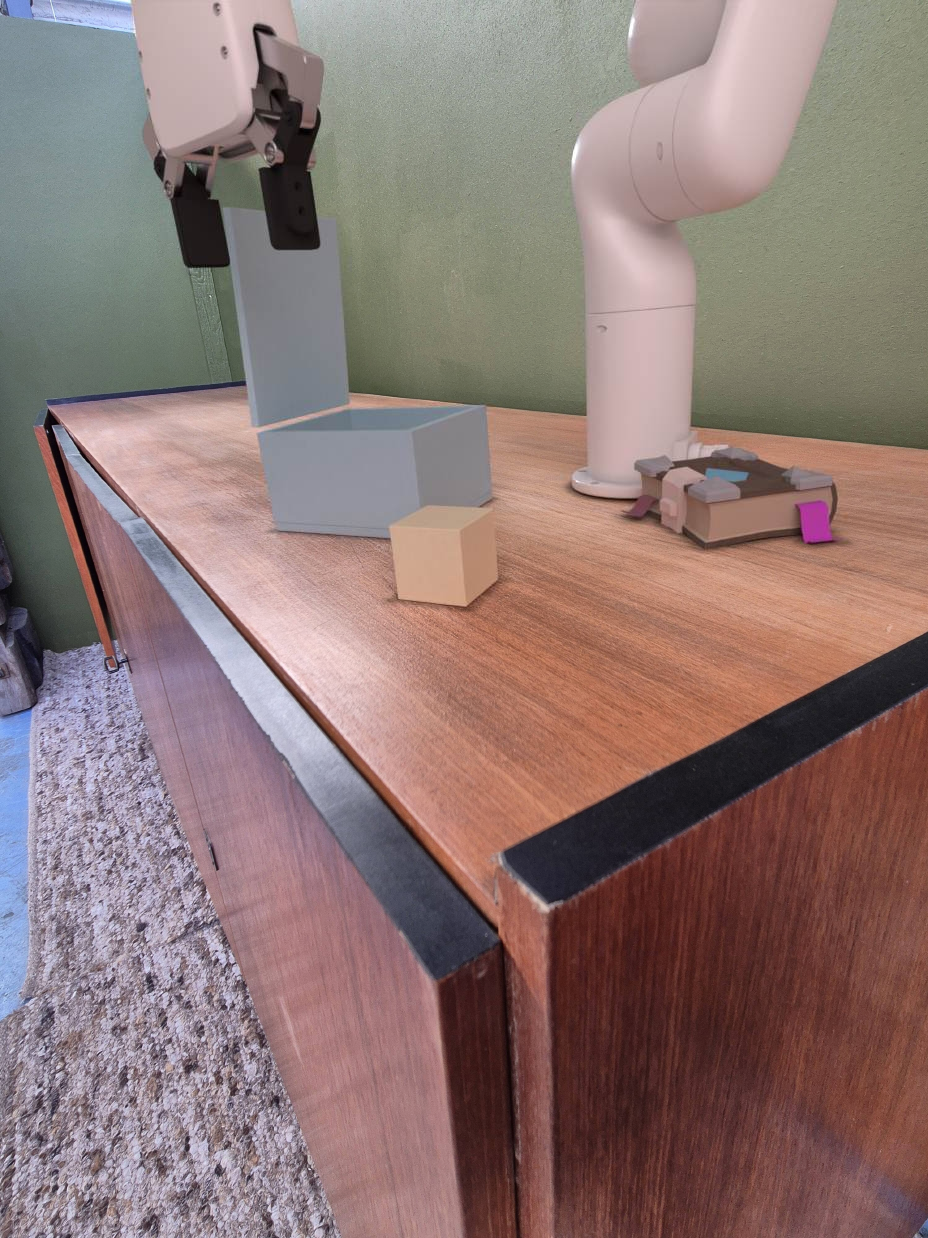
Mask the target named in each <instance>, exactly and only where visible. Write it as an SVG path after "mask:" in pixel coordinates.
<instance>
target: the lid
mask: <svg viewBox="0 0 928 1238" xmlns="http://www.w3.org/2000/svg"><path fill="white" fill-rule="evenodd" d="M222 211H223V213H222V214H223V221H224V229H225V235H226V241H227V246H228V251H229V257H230V265H229V266H230V271H231V272H230V273H231V279H232V287H233V296H234V302H235V310H236V318H237V325H238V333H239V338H240V339H239V340H240V348H241V355H242V362H243V363H242V364H243V371H244V378H245V385H246V393H247V399H248V400H247V401H248V407H249V415H250V423H251V427H252V428H261V427H265V426H269V425H273V424H277V423H282V422H285V421H289V420H293V419H296V418H297V419H298V418H300V417H304V416H309V415H312V414H317V413H320V412H324V411H329V410H332V409H335V408H340V407H344V406H348V405H350V404H351V402H350V401H351V400H350V387H349V375H348V374H349V372H348V359H347V347H346V345H347V344H346V332H345V319H344V318H345V317H344V305H343V294H342V293H343V291H342V277H341V266H340V265H341V264H340V263H341V262H340V252H339V251H340V250H339V237H338V236H339V235H338V223H337V218H334V217H326V216H325V217H324V216H317V221H318V228H319V235H320V243H321V244H320V247H319V248H318V249H315V250H275V249H274V248H273V247H272V245H271V243H270V237H269V231H268V225H267V219H266V213H265V210H260V209H250V208H240V207H232V206H229V207H222Z"/></svg>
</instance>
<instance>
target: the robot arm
mask: <svg viewBox="0 0 928 1238" xmlns="http://www.w3.org/2000/svg"><path fill="white" fill-rule="evenodd" d="M837 4H838V0H635V2H634V6H633V10H632V13H631V17H630V22H629V26H628V35H627V43H626V44H627V45H626V46H627V59H628V60H627V61H628V65H629V68H630V70H631V73H632V76H634V78H635V80H636V81H637V83H638V84H639V85H640V86H641V88H639V89H636V90H633V91H632V92H629V93H627V94H624V95H622V96H620V97H618V98H616V99H614V100H612V101H610V102H609V103H607V104H606V105H605V106H603V107H601V108H600V109H599V110H598V111H597V112H596V113H594V114H593V115H592V116H591V118H589V120H588V121H587V122H586V123H585V125H584V127H583V128H582V130H581V132H579V135H578V137H577V139H576V141H575V144H574V148H573V151H572V155H571V162H570V184H571V191H572V192H571V193H572V198H573V204H574V208H575V213H576V218H577V223H578V228H579V235H580V241H581V250H582V258H583V259H582V261H583V272H584V273H583V274H584V278H583V279H584V303H585V304H584V309H585V311H584V312H585V313H584V320H585V321H584V323H585V324H584V325H585V326H584V327H585V328H584V329H585V330H584V332H585V381H586V382H585V386H586V387H585V388H586V389H585V390H586V393H585V394H586V452H587V454H586V455H587V456H586V457H587V465H586V466H583V467H581V468H579V469H578V468H577V470H575V471H574V472H573V473H572V475H571V487H572V488H573V489H574V490H575V491H577V492H579V493H581V494H585V495H588V496H593V497H598V498H606V499H607V498H608V499H623V500H624V499H628V500H629V499H630V500H631V499H633V500H634V499H635V500H637V499H638V498H639V497H640V496H642V478H641V473H640V472H638V471H636V470H634V463H635V462H636V461H637V460H642V459H650V458H658V457H661V456H663V455H665V456H667V457H668V458H669V459H670V460H671V461H681V460H689V459H696V458H703V457H709V456H711V453H712V452H713V451H714V450H721V449H726V448H729V447H730V445H729V444H714V445H711V444H710V445H709V444H706V445H704V444H703V442H702V441H701V442H700V441H699V431H698V430H691V425H692V402H693V401H692V399H693V378H694V377H693V375H694V373H693V372H694V352H695V351H694V350H695V327H696V326H695V325H696V305H697V274H696V269H695V264H694V260H693V257H692V253H691V251H690V249H689V247H688V245H687V243H686V240H685V238H684V236H683V234H682V232H681V229H680V226H679V224H678V222H679V221H681V220H685V219H690V218H696V217H701V216H706V215H711V214H717V213H720V212H721V213H722V212H724V211H725V212H726V211H729V210H732V209H736V208H739V207H743V206H744V205H747V204H748V203H749V204H750V202H752V201H754V200H755V199H757V198H758V197H760V195H761V194H762V193H763V192H764V191H765V190H766V189H767V188H768V187H769V186H770V184H771V183H772V182H773V180H774V179H775V177H776V175H777V174H778V172H779V170H780V168H781V166H782V164H783V162H784V160H785V159H786V158H785V157H786V155H787V152H788V149H789V147H790V144H791V142H792V139H793V136H794V133H795V130H796V128H797V126H798V122H799V119H800V116H801V113H802V111H803V107H804V105H805V102H806V99H807V96H808V94H809V91H810V87H811V85H812V81H813V79H814V76H815V73H816V70H817V67H818V63H819V61H820V59H821V55H822V53H823V49H824V46H825V43H826V40H827V37H828V35H829V32H830V29H831V25H832V23H833V22H832V21H833V18H834V15H835V11H836V8H837ZM130 7H131V13H132V20H133V28H134V34H135V40H136V47H137V54H138V58H139V64H140V70H141V76H142V82H143V86H144V91H145V96H146V102H147V106H148V115H147V117H146V120H145V122H144V124H143V127H142V129H141V136H142V141H143V143H144V145H145V148H146V149H147V151H148V154H149V155H150V158H151V160H152V162H153V170H154V172H155V174H156V176H157V177H158V179H159V180H160V181H161V183H162V190H163V194H164V196H165V198H166V199H167V200H169V201H170V205H171V211H172V215H173V220H174V223H175V229H176V234H177V239H178V243H179V247H180V253H181V257H182V262H183V264H184V266H185V267H186V268H188V269H218V268H221V269H223V268H228V267H229V266H230V257H229V251H228V243H227V235H226V229H225V224H224V219H223V215H222V214H223V213H222V209H221V203H220V199H216V198H215V199H214V198H212V193H213V187H214V181H215V176H216V171H217V165H218V161H219V160H220V161H221V162H223V163H229V164H231V163H238V162H240V161H244V160H247V159H249V158H253V157H256V156H258V155H260V157H261V158H262V159H263V161H264V162H265V164H266V165H268V166H269V167H268V166H263V167H260V168H257V169H258V176H259V182H260V189H261V195H262V200H263V208H264V211H265V213H266V219H267V225H268V231H269V237H270V243H271V245H272V247H273V248H274V249H275V250H315V249H318V248H319V247H320V244H321V243H320V235H319V228H318V221H317V217H318V215H317V209H316V207H317V206H316V202H315V201H316V200H315V194H314V188H313V179H312V173H311V172H312V171H311V170H313V169H314V168H315V166H316V163H317V153H316V150H315V148H314V145H315V143H316V140H317V136H318V133H319V131H320V127H321V124H322V114H321V111H320V109H319V106H320V105H321V100H322V99H321V98H322V91H323V83H324V82H323V81H324V76H325V75H324V74H325V65H324V61H323V59H322V58H321V57H320V56H319V55H317V54H315V53H313V52H311V51H308V50H306V49H304V48H303V47H301V45H300V41H299V40H300V39H299V36H298V30H297V25H296V19H295V16H294V11H293V6H292V1H291V0H130ZM188 164H196V172H193V170H192V169H191V168H190V167H189V165H188ZM698 441H699V442H698Z"/></svg>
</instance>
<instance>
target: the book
mask: <svg viewBox="0 0 928 1238" xmlns="http://www.w3.org/2000/svg"><path fill="white" fill-rule="evenodd" d="M634 470H636V471H638V472H640V473H641V478H642V496H640V497H639V498H637V499H636V502H635V504H634V506H632V508H631V509H630V510H625V509H623V510H620V512H621V513H624V514H626V515H628V516H634V517H635V516H636V517H639V518H640V517H643V516H644V515H646V516H649V517H651V518H653V519H656V520H658V521H660V523H661V525H663V526H665V527H668V528H671V529H672V530H673V531H674V532H675V533H676V534H682V533H683V534H685V535H686V536H687V537H688V538H690V539H691V540H692V541H693V542H694V543H696V544H697V545H698V546H700V547H701V548H702V549H704V550H710V549H711V550H712V549H716V548H720V547H726V546H730V545H736V544H740V543H744V542H750V541H755V540H761V539H765V538H777V537H786V536H787V537H788V536H794V535H795V536H797V535H798V536H799V535H802V538H803V542H804V543H805V544H811V543H813V544H814V543H819V542H821V543H823V542H830V541H836V540H839V537H833V538H832V533H831V527H830V526H831V524H832V522H833V519H834V517H835V515H836V513H837V507H838V500H839V498H838V490H837V486H836V484H835V483H834V478H833V476H832V475H830V474H829V473H824V472H819V471H815V470H810V469H802V468H800V467H797V466H795V465H793V466H791V467H790V468H784V467H781V466H778V465H776V464H774V463H770V462H768V461H765V460H762V459H760V458H759V455H758V454H756V453H755V452H753V451H750V450H748V449H744V448H742V447H740V446H734V445H732V446H729V448H726V449H721V450H714V451H713V452H712V453H711V456H709V457H703V458H696V459H689V460H681V461H671V460H670V459H669V458H668V457H667V456H665V455H663V456H661V457H658V458H650V459H642V460H637V461H636V462H635V463H634Z"/></svg>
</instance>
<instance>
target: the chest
mask: <svg viewBox="0 0 928 1238" xmlns="http://www.w3.org/2000/svg"><path fill="white" fill-rule="evenodd" d="M487 412H488V411H487V404H470V405H469V404H468V405H431V406H430V405H429V406H394V407H392V406H391V407H390V406H389V407H355V408H354V407H353V408H344V409H340V410H337V411H333V412H330V413H326V414H321V415H318V416H314V417H310V418H306V419H303V420H299V421H294V422H291V423H287V424H284V425H280V426H275V427H272V428H269V429H265V430H261V431H257V432H256V436H257V437H256V438H257V441H258V447H259V451H260V456H261V457H260V458H261V462H262V467H263V471H264V478H265V482H266V488H267V492H268V493H267V494H268V497H269V504H270V507H271V514H272V518H273V522H274V528H275V531H279V532H293V533H306V534H307V533H308V534H321V535H337V536H350V537H365V538H379V539H391V538H390V531H389V526H390V525H392V524H394V523H395V522H397V521H399V520H401V519H403V518H405V517H407V516H409V515H410V514H412V513H414V512H416V511H418V510H420V509H422V508H423V507H425V506H427V505H433V506H455V507H478V508H480V507H481V506H483V505H485V504H486V503H488V502H489V501H491V500H492V499H493V484H492V472H491V470H492V469H491V457H490V442H489V425H488V413H487Z"/></svg>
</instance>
